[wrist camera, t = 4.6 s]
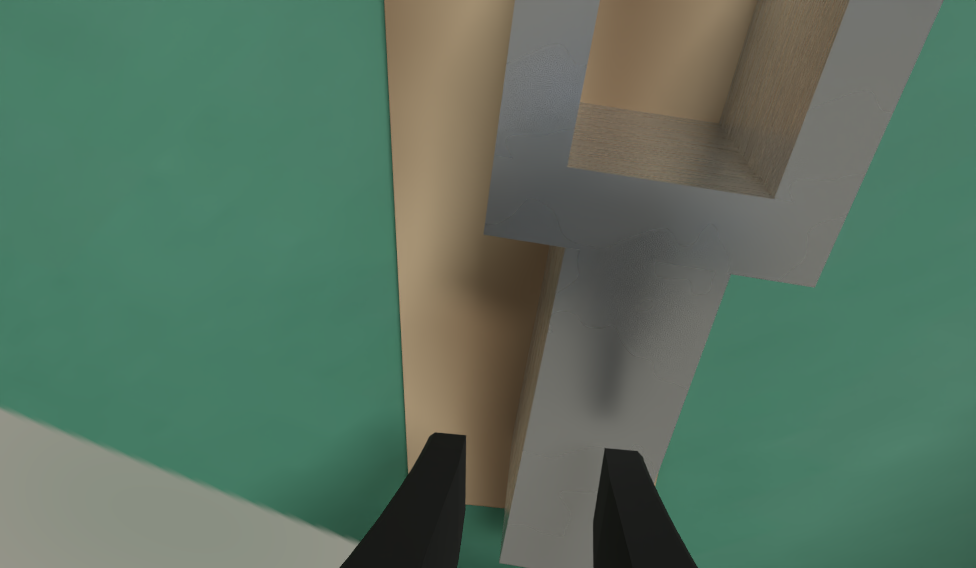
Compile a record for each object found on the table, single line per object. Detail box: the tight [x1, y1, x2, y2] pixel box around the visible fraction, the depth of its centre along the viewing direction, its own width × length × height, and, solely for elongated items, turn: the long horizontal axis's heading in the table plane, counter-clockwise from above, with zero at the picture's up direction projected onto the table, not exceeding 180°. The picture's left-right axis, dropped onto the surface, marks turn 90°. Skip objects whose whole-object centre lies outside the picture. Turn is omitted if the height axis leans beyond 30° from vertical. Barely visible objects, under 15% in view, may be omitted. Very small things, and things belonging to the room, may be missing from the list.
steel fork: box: [483, 0, 943, 568], centre depth 14 cm, size 6×14×4 cm, turn 173°
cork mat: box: [384, 0, 757, 508], centre depth 18 cm, size 8×17×1 cm, turn 179°
